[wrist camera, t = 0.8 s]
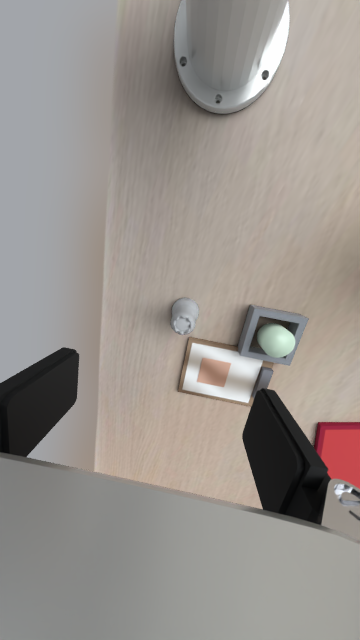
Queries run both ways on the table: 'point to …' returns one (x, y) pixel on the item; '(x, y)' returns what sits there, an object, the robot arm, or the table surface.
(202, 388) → the clipboard
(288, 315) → the button housing
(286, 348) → the button
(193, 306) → the rook chess piece
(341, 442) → the red board with handle
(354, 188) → the table surface
